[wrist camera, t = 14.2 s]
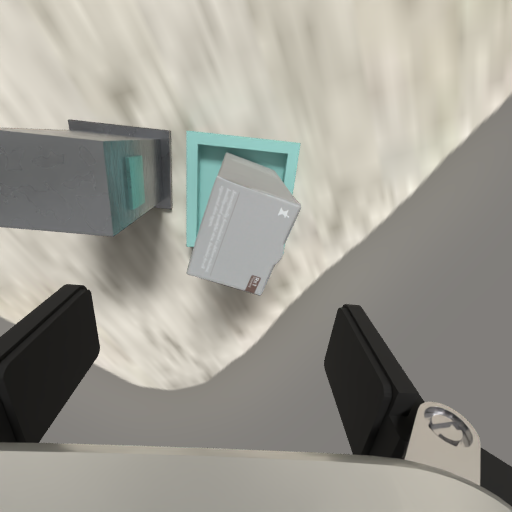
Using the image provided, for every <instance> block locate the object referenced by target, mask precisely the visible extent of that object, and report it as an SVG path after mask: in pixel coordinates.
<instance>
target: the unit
mask: <svg viewBox="0 0 512 512" xmlns="http://www.w3.org/2000/svg"><path fill="white" fill-rule="evenodd" d="M68 123H69V129H70V130H52V129H25V128H0V227H7V228H19V229H31V230H42V231H54V232H66V233H77V234H89V235H101V236H113V237H114V236H115V235H116V234H118V233H119V232H120V231H122V230H123V229H124V228H126V227H127V226H128V225H130V224H131V223H133V222H134V221H135V220H137V219H138V218H139V217H141V216H142V215H143V214H145V213H146V212H147V211H149V210H150V209H152V208H153V207H155V208H166V209H172V173H171V131H168V130H159V129H150V128H141V127H132V126H123V125H114V124H104V123H95V122H86V121H77V120H68Z"/></svg>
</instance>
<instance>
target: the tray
mask: <svg viewBox="0 0 512 512" xmlns="http://www.w3.org/2000/svg"><path fill="white" fill-rule="evenodd" d="M299 150H300V143H294V142H285V141H276V140H267V139H258V138H248V137H239V136H230V135H221V134H212V133H203V132H194V131H187V247H194V245H195V241H196V238H197V234H198V231H199V228H200V224H201V221H202V218H203V215H204V212H205V209H206V206H207V203H208V200H209V197H210V194H211V191H212V188H213V185H214V182H215V179H216V177H217V175H218V173H219V170H220V167H221V165H222V162H223V159H224V156H225V153H226V152H228V153H231V154H233V155H236V156H239V157H241V158H244V159H246V160H249V161H252V162H254V163H257V164H259V165H262V166H265V167H267V168H270V169H272V170H274V171H275V172H276V173H277V174H278V176H279V177H280V179H281V180H282V181H283V183H284V184H285V186H286V187H287V188H288V190H289V191H290V192H291V194H292V195H293V188H294V182H295V175H296V169H297V163H298V156H299ZM284 247H285V244H284ZM283 253H284V252H283Z"/></svg>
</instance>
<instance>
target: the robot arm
mask: <svg viewBox="0 0 512 512" xmlns="http://www.w3.org/2000/svg"><path fill="white" fill-rule="evenodd" d="M99 351H100V345H99V339H98V332H97V326H96V320H95V314H94V308H93V301H92V295H91V292H90V290H87V289H86V287H85V286H83V285H71V284H66V285H64V286H63V287H61V288H60V289H59V290H58V291H57V292H55V293H54V294H53V295H52V296H50V297H49V298H48V299H47V300H45V301H44V302H43V303H42V304H40V305H39V306H38V307H37V308H36V309H34V310H33V311H32V312H31V313H29V314H28V315H27V316H26V317H24V318H23V319H22V320H21V321H19V322H18V323H17V324H16V325H15V326H14V327H12V328H11V329H10V330H9V331H7V332H6V333H5V334H3V335H2V336H1V337H0V512H512V467H511V466H509V465H507V464H506V463H505V462H503V461H501V460H500V459H498V458H497V457H495V456H493V455H492V454H490V453H489V452H487V451H486V450H484V449H482V448H481V444H480V440H479V436H478V434H477V433H476V431H475V429H474V428H473V427H472V425H471V424H470V423H469V422H468V421H467V420H466V419H465V418H464V417H463V416H462V415H460V414H459V413H458V412H456V411H454V410H453V409H451V408H450V407H447V406H445V405H443V404H440V403H435V402H424V401H423V399H422V398H421V396H420V395H419V393H418V391H417V390H416V388H415V387H414V386H413V384H412V382H411V381H410V380H409V378H408V376H407V375H406V373H405V372H404V371H403V370H402V367H401V366H400V364H399V363H398V362H397V360H396V358H395V357H394V356H393V354H392V352H391V351H390V350H389V348H388V346H387V345H386V343H385V342H384V340H383V339H382V338H381V336H380V334H379V333H378V331H377V330H376V328H375V327H374V326H373V324H372V322H371V321H370V320H369V318H368V316H367V315H366V314H365V312H364V310H363V309H362V307H361V306H359V305H349V304H345V305H343V307H342V308H339V309H338V311H337V315H336V318H335V322H334V326H333V330H332V334H331V337H330V341H329V345H328V349H327V353H326V356H325V360H324V366H325V371H326V374H327V377H328V380H329V383H330V386H331V389H332V392H333V395H334V398H335V401H336V405H337V408H338V411H339V414H340V417H341V420H342V422H343V426H344V429H345V431H346V435H347V438H348V440H349V444H350V446H351V450H352V452H353V455H350V454H333V453H315V452H290V451H266V450H265V451H264V450H241V449H214V448H213V449H212V448H186V447H156V446H155V447H154V446H126V445H92V444H58V443H57V444H56V443H55V444H54V443H39V442H40V440H41V438H42V437H43V436H44V434H45V433H46V431H47V430H48V428H49V427H50V425H51V424H52V423H53V421H54V420H55V418H56V417H57V415H58V413H59V412H60V411H61V409H62V408H63V406H64V405H65V403H66V402H67V400H68V399H69V398H70V396H71V395H72V393H73V392H74V390H75V389H76V387H77V386H78V384H79V383H80V382H81V380H82V379H83V377H84V376H85V374H86V373H87V371H88V370H89V368H90V367H91V365H92V364H93V363H94V361H95V360H96V358H97V356H98V354H99Z"/></svg>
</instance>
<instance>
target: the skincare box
mask: <svg viewBox="0 0 512 512" xmlns="http://www.w3.org/2000/svg"><path fill="white" fill-rule="evenodd" d="M300 209H301V205H300V203H299V202H298V201H297V200H296V199H295V198H294V196H293V195H292V194H291V192H290V191H289V190H288V188H287V187H286V186H285V184H284V183H283V181H282V180H281V179H280V177H279V176H278V174H277V173H276V172H275V171H274V170H272V169H270V168H267V167H265V166H262V165H259V164H257V163H254V162H252V161H249V160H246V159H244V158H241V157H239V156H236V155H233V154H231V153H228V152H226V153H225V156H224V159H223V162H222V165H221V167H220V170H219V173H218V175H217V177H216V179H215V182H214V185H213V188H212V191H211V194H210V197H209V200H208V203H207V206H206V209H205V212H204V215H203V218H202V221H201V224H200V228H199V231H198V234H197V238H196V241H195V245H194V248H193V251H192V255H191V258H190V262H189V265H188V269H187V274H188V275H192V276H195V277H199V278H202V279H206V280H209V281H212V282H216V283H219V284H222V285H226V286H229V287H232V288H236V289H239V290H243V291H246V292H249V293H253V294H256V295H261V294H262V292H263V290H264V288H265V285H266V283H267V281H268V279H269V277H270V274H271V272H272V270H273V268H274V266H275V264H276V263H278V261H279V260H280V259H281V257H282V255H283V252H284V244H285V242H286V240H287V238H288V236H289V234H290V231H291V229H292V227H293V225H294V223H295V220H296V218H297V216H298V214H299V212H300Z"/></svg>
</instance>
